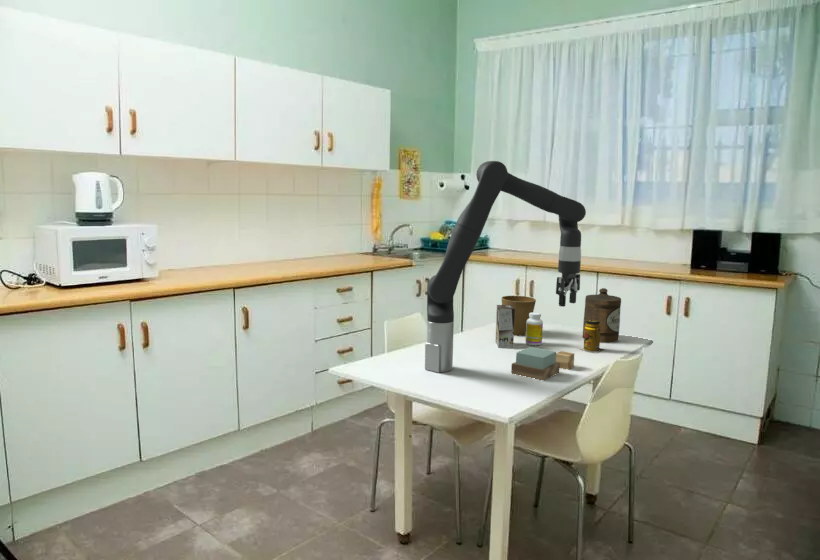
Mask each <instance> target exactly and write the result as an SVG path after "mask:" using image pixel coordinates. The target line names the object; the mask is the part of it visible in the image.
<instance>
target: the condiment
mask: <svg viewBox="0 0 820 560" xmlns="http://www.w3.org/2000/svg"><path fill="white" fill-rule="evenodd" d="M600 346H601V345H600V321H598V320H586V327H585V331H584V338H583V348H580V349H579V350H580V351H584V352H589V353H595V354H596V353H597V354H598V353H600V352H603V351H605V350H606V348H603V347H600Z"/></svg>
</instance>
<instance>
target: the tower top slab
mask: <svg viewBox="0 0 820 560" xmlns="http://www.w3.org/2000/svg"><path fill="white" fill-rule="evenodd" d="M556 353H557V351H556V350H555V351H554V350H548V349H543V348H538V347H533V346H528V347H526V348H524V349H521V350H519V351H517V352H516V354H515V362H516V364H519V365H524V366H528V367H533V368H538V369H545V368H547V367H549V366H551V365H553V364H555V363H556Z"/></svg>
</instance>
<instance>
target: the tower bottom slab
mask: <svg viewBox="0 0 820 560" xmlns="http://www.w3.org/2000/svg"><path fill="white" fill-rule="evenodd" d="M559 367H560V363H558V362H556V363H555V364H553V365H551V366H549V367H547V368H545V369H538V368H533V367H528V366H524V365H519V364H516V361H514V362H513V363H511V372H510V373H512V375H515V374H516V376H519V375H521V376H520V377H523V376H526V377H525V378H528V377H531V378H530V379H532V378H535V379H534V380H536V379H539V380H538V381H541V380H544V381H546V380H548V379H550V378H551V376H552V377H554V376H556V375H558V374H559V373H560V368H559ZM557 373H558V374H557ZM555 374H556V375H555ZM553 375H554V376H553ZM549 377H550V378H549ZM547 378H548V379H547ZM545 379H546V380H545Z"/></svg>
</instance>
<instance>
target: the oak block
mask: <svg viewBox="0 0 820 560" xmlns="http://www.w3.org/2000/svg"><path fill="white" fill-rule="evenodd" d="M556 362H558V363H560V367H559V369H562V368H563V370H566V369H568V370H570V369H573V368H574V366H575V353H573V352H568V351H564V350H561V351H558V352H556Z"/></svg>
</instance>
